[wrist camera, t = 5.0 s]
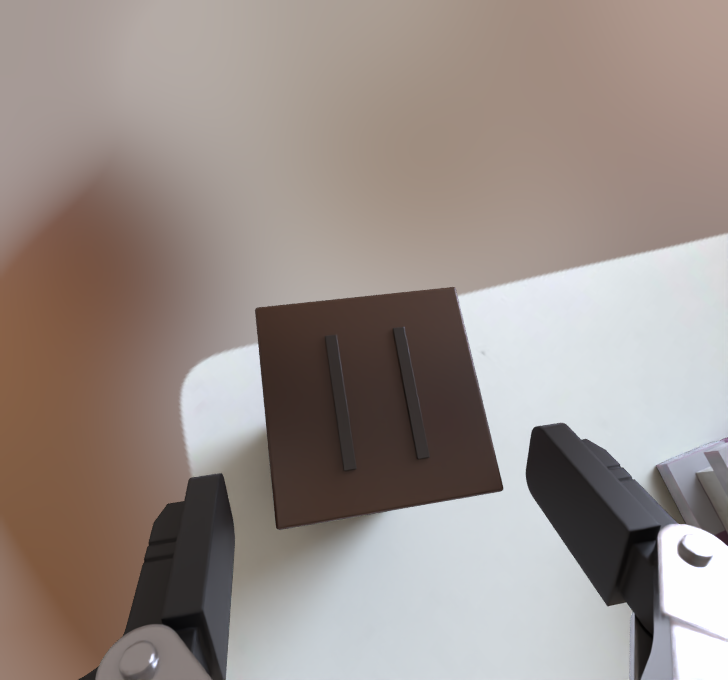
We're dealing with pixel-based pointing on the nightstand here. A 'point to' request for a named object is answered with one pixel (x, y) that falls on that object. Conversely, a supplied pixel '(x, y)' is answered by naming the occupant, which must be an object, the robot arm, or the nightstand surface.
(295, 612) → the nightstand surface
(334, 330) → the knife block
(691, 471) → the book
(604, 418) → the nightstand surface
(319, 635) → the nightstand surface
